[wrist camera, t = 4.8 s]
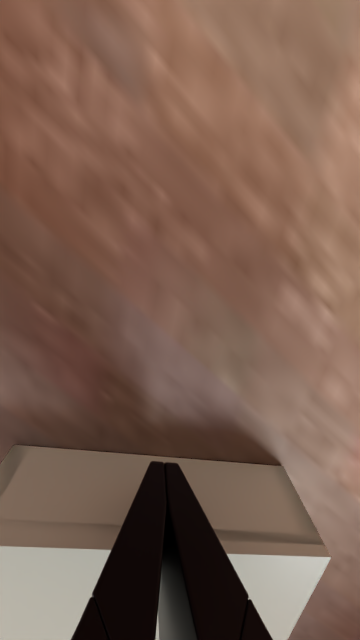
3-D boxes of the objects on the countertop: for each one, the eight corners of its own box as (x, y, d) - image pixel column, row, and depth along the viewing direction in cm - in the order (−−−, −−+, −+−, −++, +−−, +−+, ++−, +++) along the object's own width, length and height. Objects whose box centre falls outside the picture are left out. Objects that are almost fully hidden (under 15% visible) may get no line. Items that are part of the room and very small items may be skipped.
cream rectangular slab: (13, 444, 9) (-57, 544, 6) (282, 466, 10) (331, 557, 7) (19, 682, 14) (-19, 801, 11) (201, 677, 15) (211, 782, 12)
